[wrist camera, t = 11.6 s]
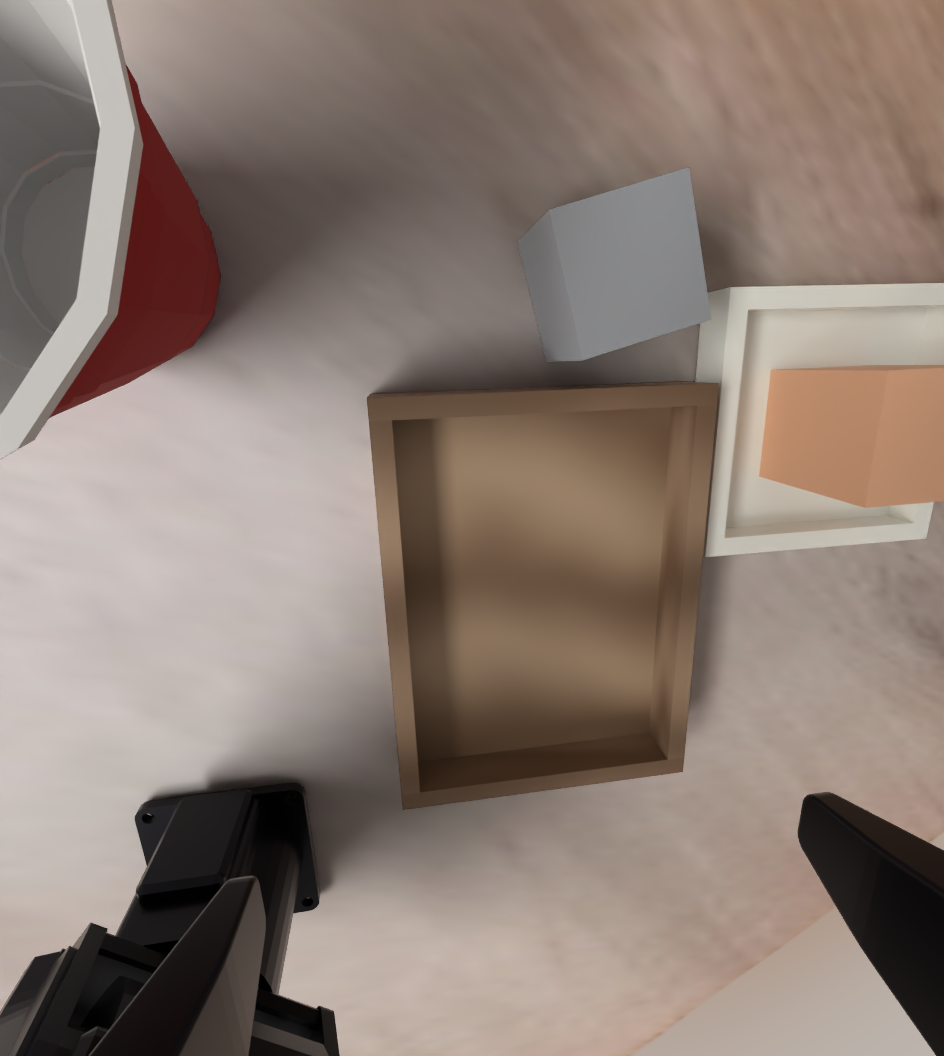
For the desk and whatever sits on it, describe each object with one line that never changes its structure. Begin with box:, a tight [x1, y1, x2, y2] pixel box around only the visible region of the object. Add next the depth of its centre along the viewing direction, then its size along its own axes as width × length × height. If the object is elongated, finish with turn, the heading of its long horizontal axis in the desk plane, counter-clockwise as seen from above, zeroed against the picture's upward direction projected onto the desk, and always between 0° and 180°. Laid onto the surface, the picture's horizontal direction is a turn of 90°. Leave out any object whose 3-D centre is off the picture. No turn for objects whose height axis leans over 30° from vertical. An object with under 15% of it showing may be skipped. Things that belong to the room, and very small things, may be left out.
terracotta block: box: [759, 365, 944, 508], centre depth 19 cm, size 4×4×5 cm
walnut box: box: [367, 381, 719, 810], centre depth 21 cm, size 15×11×2 cm
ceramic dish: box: [696, 283, 944, 557], centre depth 21 cm, size 9×9×2 cm
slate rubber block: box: [517, 167, 711, 362], centre depth 17 cm, size 4×4×4 cm
